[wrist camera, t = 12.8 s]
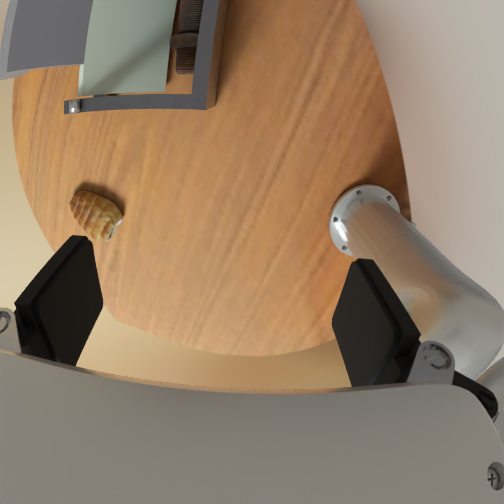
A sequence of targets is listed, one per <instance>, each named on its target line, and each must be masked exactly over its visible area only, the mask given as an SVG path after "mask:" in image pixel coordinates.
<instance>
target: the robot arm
mask: <svg viewBox="0 0 504 504" xmlns="http://www.w3.org/2000/svg"><path fill="white" fill-rule="evenodd" d="M357 191H358V192H357ZM334 217H335V218H334ZM328 226H329V233H330V236H331V239H332V241H333V242H334V244H335V245H336V247H337V248H338V249H339V250H340V251H341V252H343V253H345V254H347V255H350V256H353V257H354V258H355V260H356V261H355V262H352V263H351V265H350V268H349V271H348V274H347V278H346V281H345V283H344V286H343V289H342V292H341V295H340V298H339V301H338V304H337V307H336V309H335V312H334V315H333V318H332V327H333V330H334V333H335V336H336V339H337V342H338V345H339V348H340V351H341V354H342V357H343V360H344V363H345V366H346V370H347V373H348V376H349V379H350V382H351V385H352V387H344V388H329V389H328V388H327V389H299V390H298V389H295V390H274V389H273V390H272V389H237V388H219V387H206V386H194V385H184V384H175V383H167V382H159V381H151V380H145V379H138V378H132V377H126V376H120V375H114V374H109V373H104V372H98V371H94V370H89V369H85V368H80V367H76V364H77V361H78V359H79V357H80V354H81V352H82V350H83V348H84V346H85V343H86V341H87V339H88V337H89V335H90V333H91V331H92V329H93V326H94V324H95V322H96V320H97V318H98V316H99V314H100V312H101V310H102V308H103V297H102V293H101V288H100V283H99V278H98V273H97V268H96V262H95V256H94V250H93V244H92V242H91V241H90V240H88V238H87V237H86V236H78V235H72V236H71V237H70V238H69V239H68V240H67V241H66V242H65V243H64V244H63V245H62V246H61V247H60V249H59V250H58V251H57V252H56V253H55V254H54V255H53V256H52V257H51V259H50V260H49V261H48V262H47V263H46V265H45V266H44V267H43V268H42V269H41V270H40V272H39V273H38V274H37V275H36V276H35V278H34V279H33V280H32V281H31V282H30V283H29V285H28V286H27V287H26V289H25V290H24V291H23V292H22V294H21V295H20V296H19V297H18V299H17V300H16V301H15V303H14V304H15V306H16V310H15V311H14V312H12V310H10V309H8V308H0V504H504V357H503V358H501V359H500V360H499V361H497V362H496V363H494V364H493V365H492V366H491V367H490V368H489V369H487V370H486V371H485V372H484V373H483V374H481V373H482V372H483V371H484V370H485V369H486V368H487V367H488V366H489V364H490V363H491V362H492V361H493V360H494V358H495V357H496V355H497V354H498V352H499V351H500V349H501V348H502V346H503V344H504V310H503V309H502V307H501V306H500V304H499V303H498V302H497V300H496V299H495V298H494V297H493V296H492V295H491V294H489V293H488V292H487V291H486V290H485V289H484V288H482V287H481V286H480V285H478V284H477V283H476V282H475V281H473V280H472V279H471V278H469V277H468V276H467V275H465V274H464V273H463V272H462V271H460V270H459V269H458V268H457V267H456V266H454V265H453V264H452V263H451V262H450V261H449V260H448V259H447V258H446V257H445V256H444V255H443V254H442V253H441V252H440V251H439V250H438V249H437V248H436V247H435V246H434V245H433V244H432V243H431V242H430V241H429V240H428V239H427V238H425V236H423V235H422V234H421V233H420V232H419V231H418V230H417V229H416V224H415V223H413V222H409V221H408V220H406V219H405V218H404V217H403V216H402V215H401V214H400V209H399V205H398V203H397V200H396V199H395V197H394V196H393V195H392V194H391V193H390V192H389V191H388V190H386V189H385V188H383V187H381V186H378V185H374V184H363V185H359V186H356V187H353V188H351V189H349V190H348V191H347V192H345V193H344V194H343V195H342V196H341V197H340V198H339V199H338V200H337V201H336V203H335V204H334V206H333V208H332V210H331V213H330V216H329V224H328ZM480 374H481V375H480ZM479 375H480V376H479ZM478 376H479V377H478ZM476 377H478V378H477V379H476V380H475V381H474V379H475V378H476Z"/></svg>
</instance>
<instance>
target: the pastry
mask: <svg viewBox="0 0 504 504" xmlns="http://www.w3.org/2000/svg"><path fill="white" fill-rule="evenodd" d="M70 207H71V210H72V212H73V214H74V218H75V219H77V220H78V222H79V225H80V226H82V227H83V228H84V230H85V231H86V232H87V233H91V235H92V237H93V238H94V239H101V240H102V241H105V242H107V241H108V240H109V239H110V238H111V235H112V234H113V233H114V232H115V230H116V228H117V225H119V224H120V223H121V222H122V220H123V216H122V214H121V212H120V210H119V209H118V207H117V206H116V205H115V204H114V203H113V202H111V201H110V200H108V199H106V198H104V197H102V196H100V195H97V194H94V193H92V192H89V191H79V192H77V193H76V194H75V195H74V196H73V198H72V200H71V201H70Z"/></svg>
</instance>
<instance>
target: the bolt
mask: <svg viewBox="0 0 504 504" xmlns="http://www.w3.org/2000/svg"><path fill="white" fill-rule="evenodd" d="M203 2H204V0H181V4H180V5H181V6H180V15H179V16H180V17H179V24H178V25H179V26H178V27H179V28H178V33H177V34H175V35H173V36H172V37H171V38H170V47H171V48H172V49H174V50H177V52H176V53H177V54H176V55H177V56H176V60H177V61H176V66H175V67H176V68H175V69H176V72H177V73H178V74H188V73H190V74H194V67H195V59H196V51H197V43H198V36H199V28H200V22H201V15H202V9H203Z"/></svg>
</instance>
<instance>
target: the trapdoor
mask: <svg viewBox="0 0 504 504" xmlns="http://www.w3.org/2000/svg"><path fill="white" fill-rule="evenodd" d="M176 3H177V0H10V2H9V6H8V10H7V15H6V20H5V25H4V31H3V36H2V43H1V51H0V80H2V79H8V78H13V77H19V76H21V75H23V74H25V73H26V72H28V71H30V70H33V69H40V68H49V67H60V66H73V65H80V72H79V86H78V97H79V96H88V95H99V94H112V93H130V92H165V88H166V78H167V68H168V59H169V50H170V38H171V35H172V28H173V21H174V15H175V9H176Z"/></svg>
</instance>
